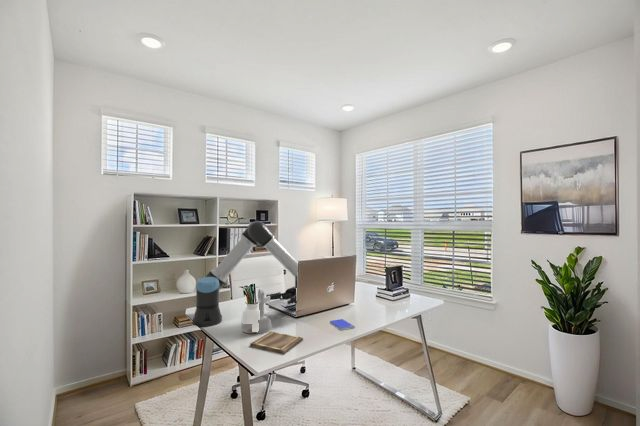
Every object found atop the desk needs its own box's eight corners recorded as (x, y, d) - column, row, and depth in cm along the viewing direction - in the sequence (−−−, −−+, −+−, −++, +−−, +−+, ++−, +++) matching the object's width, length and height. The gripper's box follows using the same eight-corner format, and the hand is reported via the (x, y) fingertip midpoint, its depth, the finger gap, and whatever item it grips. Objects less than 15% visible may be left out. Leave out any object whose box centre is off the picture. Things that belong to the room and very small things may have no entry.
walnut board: (250, 346, 137) (250, 342, 137) (270, 333, 151) (270, 331, 151) (284, 354, 129) (284, 350, 129) (302, 340, 144) (302, 337, 144)
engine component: (253, 334, 151) (273, 331, 154) (253, 292, 151) (273, 290, 155) (249, 326, 161) (268, 324, 164) (250, 287, 161) (268, 286, 165)
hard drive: (354, 325, 160) (342, 318, 171) (341, 328, 157) (329, 320, 168) (354, 328, 160) (342, 321, 171) (341, 331, 157) (329, 323, 168)
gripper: (311, 302, 181) (293, 312, 162) (275, 297, 192) (254, 306, 173) (311, 289, 181) (293, 298, 162) (275, 285, 192) (254, 293, 173)
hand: (273, 302), depth 167 cm, fingers open, 13 cm apart
